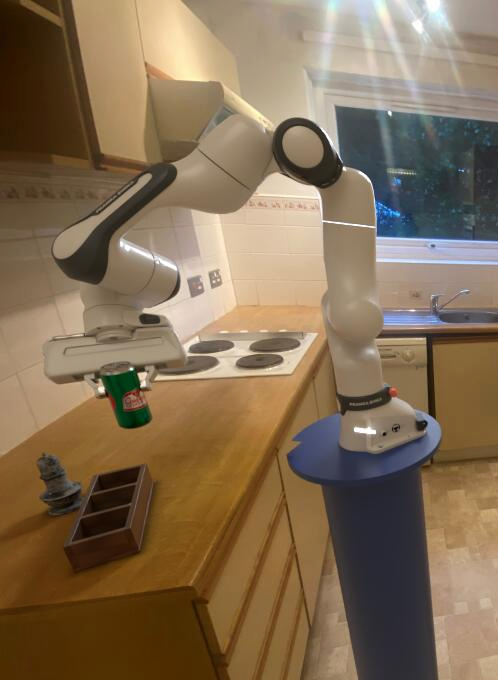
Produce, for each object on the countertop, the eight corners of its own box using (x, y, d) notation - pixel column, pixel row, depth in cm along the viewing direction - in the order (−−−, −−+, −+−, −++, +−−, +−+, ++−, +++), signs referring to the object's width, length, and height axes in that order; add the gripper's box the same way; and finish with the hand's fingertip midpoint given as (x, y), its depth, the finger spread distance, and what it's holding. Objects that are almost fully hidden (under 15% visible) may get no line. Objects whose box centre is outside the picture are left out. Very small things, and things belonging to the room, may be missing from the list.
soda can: (135, 431, 80) (113, 371, 76) (112, 429, 81) (89, 369, 76) (160, 419, 85) (140, 361, 80) (138, 417, 86) (118, 359, 81)
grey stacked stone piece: (80, 493, 87) (56, 441, 82) (95, 501, 84) (71, 448, 80) (40, 510, 82) (13, 455, 77) (55, 519, 79) (27, 464, 75)
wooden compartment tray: (153, 483, 90) (146, 462, 88) (140, 552, 72) (130, 528, 70) (102, 496, 86) (93, 475, 84) (74, 572, 68) (62, 547, 66)
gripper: (32, 328, 76) (38, 399, 72) (176, 315, 86) (187, 376, 82) (50, 346, 81) (56, 413, 77) (183, 331, 91) (194, 389, 87)
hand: (125, 393), depth 80 cm, fingers closed on soda can, 5 cm apart
